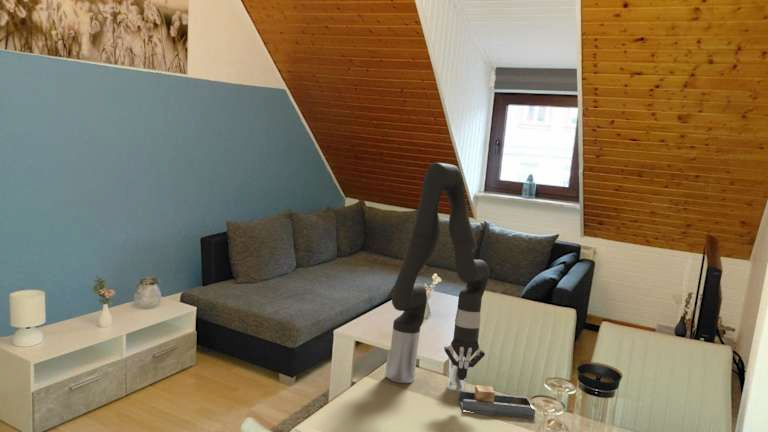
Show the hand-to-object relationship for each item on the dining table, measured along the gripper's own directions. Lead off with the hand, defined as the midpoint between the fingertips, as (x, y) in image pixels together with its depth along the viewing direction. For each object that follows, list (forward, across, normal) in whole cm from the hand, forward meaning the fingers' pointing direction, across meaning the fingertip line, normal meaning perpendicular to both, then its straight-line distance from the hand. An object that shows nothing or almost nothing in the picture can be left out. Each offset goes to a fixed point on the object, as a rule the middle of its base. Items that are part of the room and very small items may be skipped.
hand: (461, 379), depth 168 cm
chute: (+9, +12, 0) cm, 15 cm away
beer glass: (+9, +2, +15) cm, 17 cm away
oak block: (+7, +8, 0) cm, 11 cm away
